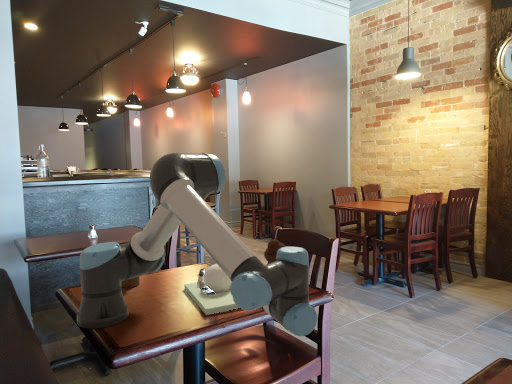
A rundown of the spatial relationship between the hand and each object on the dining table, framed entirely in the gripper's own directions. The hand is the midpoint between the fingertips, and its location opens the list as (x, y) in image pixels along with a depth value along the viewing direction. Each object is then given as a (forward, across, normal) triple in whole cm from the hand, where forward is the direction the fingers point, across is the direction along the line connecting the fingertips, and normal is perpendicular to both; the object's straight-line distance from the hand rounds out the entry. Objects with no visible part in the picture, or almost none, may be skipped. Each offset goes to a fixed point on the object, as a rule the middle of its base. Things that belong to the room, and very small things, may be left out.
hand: (240, 275), depth 119 cm
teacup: (+49, +9, -13) cm, 51 cm away
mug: (+46, -29, -14) cm, 56 cm away
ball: (+22, 0, -7) cm, 23 cm away
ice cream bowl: (+33, +30, -13) cm, 47 cm away
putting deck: (+18, 0, -13) cm, 22 cm away
